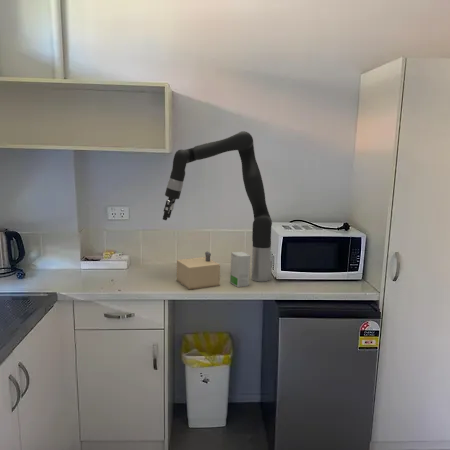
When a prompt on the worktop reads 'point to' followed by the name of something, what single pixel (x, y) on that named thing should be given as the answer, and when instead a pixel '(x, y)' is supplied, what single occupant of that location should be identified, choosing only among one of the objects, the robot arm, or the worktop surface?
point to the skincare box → (240, 269)
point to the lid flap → (198, 262)
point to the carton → (198, 276)
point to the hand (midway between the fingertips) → (166, 218)
